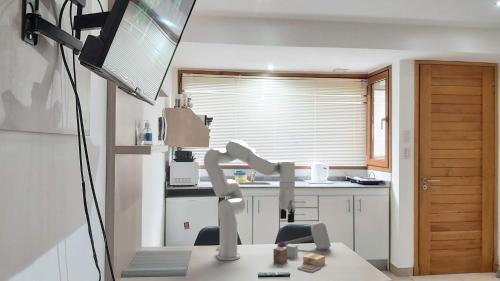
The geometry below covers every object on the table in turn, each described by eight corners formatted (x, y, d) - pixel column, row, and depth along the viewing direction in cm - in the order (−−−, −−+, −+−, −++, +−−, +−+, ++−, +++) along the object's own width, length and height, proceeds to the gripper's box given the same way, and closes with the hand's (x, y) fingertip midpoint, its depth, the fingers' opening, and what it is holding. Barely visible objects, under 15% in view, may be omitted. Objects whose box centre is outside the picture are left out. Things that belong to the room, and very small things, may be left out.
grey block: (286, 257, 196) (286, 245, 197) (288, 254, 201) (288, 243, 201) (295, 258, 195) (295, 246, 195) (297, 255, 199) (297, 244, 199)
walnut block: (273, 262, 187) (273, 248, 187) (279, 260, 190) (279, 247, 191) (281, 264, 183) (281, 250, 184) (287, 262, 187) (287, 248, 187)
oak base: (303, 264, 184) (303, 256, 185) (311, 260, 190) (311, 253, 191) (316, 267, 179) (316, 259, 179) (324, 263, 185) (324, 256, 185)
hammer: (274, 235, 210) (324, 222, 209) (274, 232, 218) (322, 220, 217) (281, 260, 210) (331, 248, 208) (280, 256, 217) (329, 244, 216)
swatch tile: (297, 269, 176) (297, 267, 176) (306, 265, 182) (306, 263, 182) (311, 272, 170) (311, 271, 170) (320, 268, 176) (320, 267, 176)
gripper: (273, 184, 186) (273, 217, 186) (286, 187, 169) (286, 224, 169) (287, 184, 188) (287, 217, 188) (301, 187, 172) (301, 223, 171)
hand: (287, 220), depth 178 cm, fingers open, 9 cm apart
